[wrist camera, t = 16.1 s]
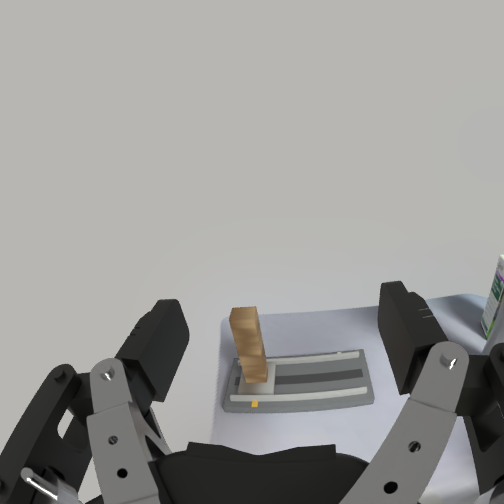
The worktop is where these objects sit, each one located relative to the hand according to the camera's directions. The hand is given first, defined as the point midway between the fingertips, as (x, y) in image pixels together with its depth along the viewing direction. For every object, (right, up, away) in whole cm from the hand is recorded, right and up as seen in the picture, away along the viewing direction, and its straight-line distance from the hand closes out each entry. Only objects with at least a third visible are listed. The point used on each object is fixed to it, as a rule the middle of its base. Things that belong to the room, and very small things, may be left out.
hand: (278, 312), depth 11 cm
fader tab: (0, -17, +28) cm, 32 cm away
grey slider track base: (+6, -18, +28) cm, 33 cm away
